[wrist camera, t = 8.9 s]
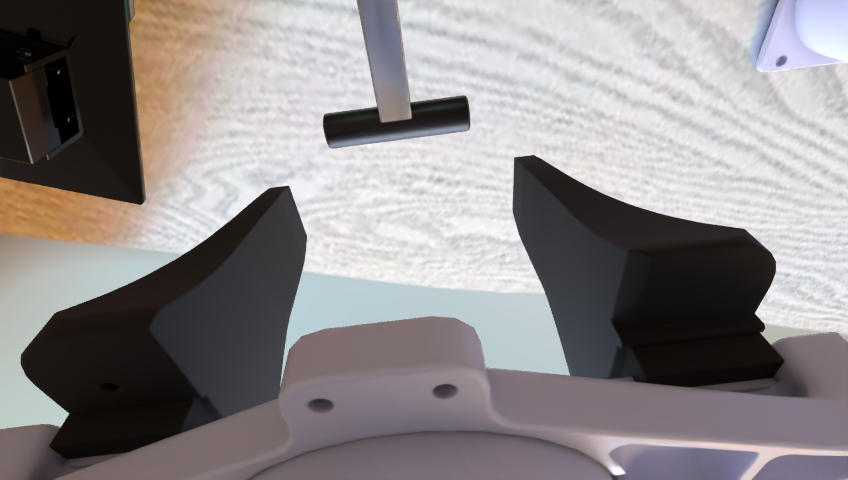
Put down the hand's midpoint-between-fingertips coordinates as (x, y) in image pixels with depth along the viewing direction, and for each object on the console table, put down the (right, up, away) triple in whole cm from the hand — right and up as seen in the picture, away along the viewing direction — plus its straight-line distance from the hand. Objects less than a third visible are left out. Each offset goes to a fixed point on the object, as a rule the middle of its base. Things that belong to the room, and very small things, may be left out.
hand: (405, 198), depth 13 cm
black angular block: (-17, +6, +6) cm, 19 cm away
